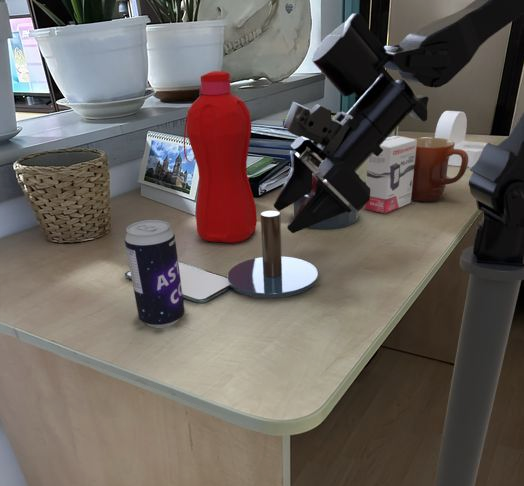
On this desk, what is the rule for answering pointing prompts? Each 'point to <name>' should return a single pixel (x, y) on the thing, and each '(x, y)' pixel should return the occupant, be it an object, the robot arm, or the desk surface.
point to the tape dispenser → (458, 137)
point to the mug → (434, 168)
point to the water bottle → (221, 161)
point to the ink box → (391, 174)
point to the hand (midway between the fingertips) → (282, 219)
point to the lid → (272, 267)
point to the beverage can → (155, 272)
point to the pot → (332, 222)
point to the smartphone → (199, 283)
